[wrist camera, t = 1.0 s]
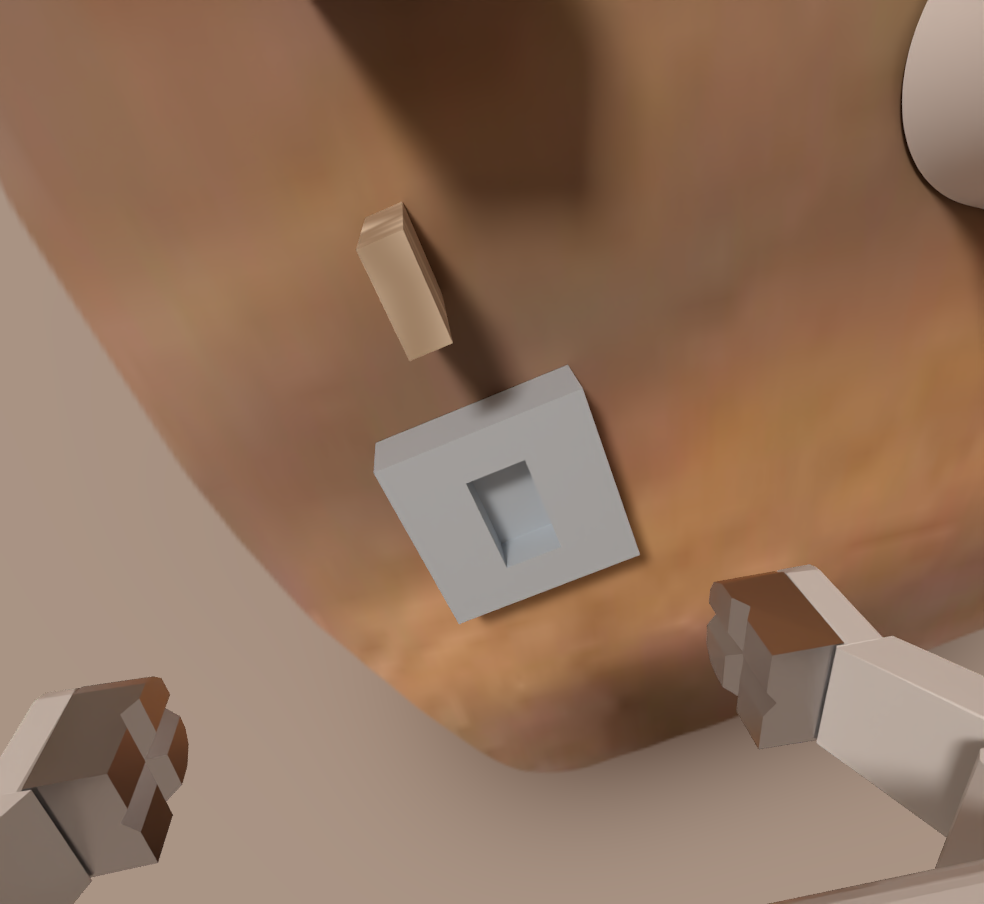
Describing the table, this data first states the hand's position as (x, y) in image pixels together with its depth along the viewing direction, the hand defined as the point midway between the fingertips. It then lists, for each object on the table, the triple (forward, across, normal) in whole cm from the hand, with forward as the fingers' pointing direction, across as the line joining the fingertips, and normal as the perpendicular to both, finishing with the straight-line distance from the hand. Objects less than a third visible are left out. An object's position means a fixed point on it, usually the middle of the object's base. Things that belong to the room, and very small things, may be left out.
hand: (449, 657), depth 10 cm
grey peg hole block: (+28, -4, +14) cm, 31 cm away
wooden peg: (+28, 0, 0) cm, 28 cm away
